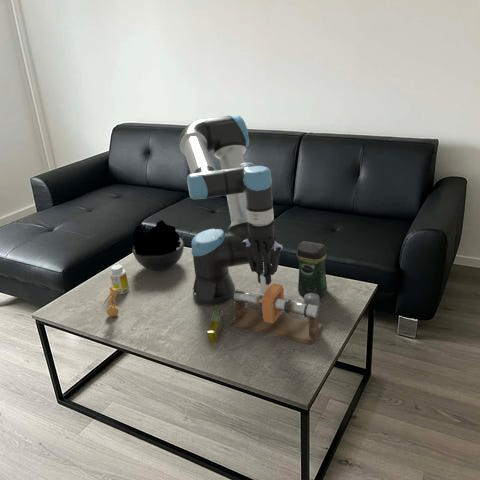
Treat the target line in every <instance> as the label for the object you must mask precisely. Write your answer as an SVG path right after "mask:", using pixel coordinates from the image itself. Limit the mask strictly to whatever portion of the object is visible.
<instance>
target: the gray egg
mask: <svg viewBox="0 0 480 480" xmlns="http://www.w3.org/2000/svg"><path fill="white" fill-rule="evenodd" d="M303 301H304V302H303V303H305V304H307V303H309V304H310V305H315V306H318V313H319V314H320V297H319V295H318V294H316V293H308V294H306V295H304V296H303Z"/></svg>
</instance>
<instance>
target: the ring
mask: <svg viewBox="0 0 480 480" xmlns="http://www.w3.org/2000/svg"><path fill="white" fill-rule="evenodd" d="M284 296H285V293H284V285H283V284H279V283H271V284H270V285H269V288H268V289H267V291H266V292H265V293H264V296H263V297H262V307H261V311H262V313H263V319H264V322H269V323H274V322H275V321H276V320H277V319H278V317H279V316H280V315H282V313H283V311H280V310H275V309H274V307H273V302H274V299H275V298H280V299H285V297H284Z"/></svg>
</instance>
